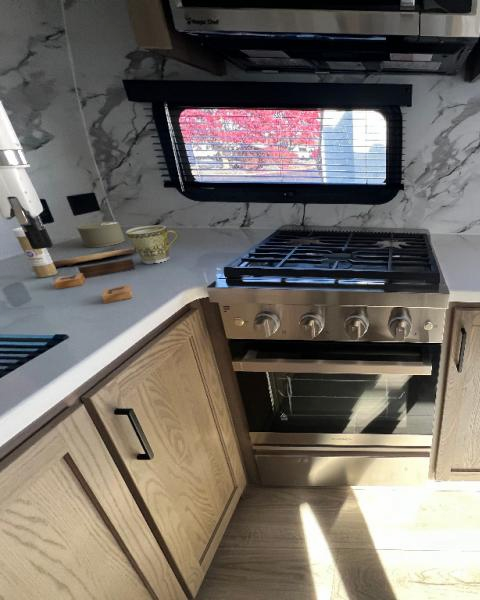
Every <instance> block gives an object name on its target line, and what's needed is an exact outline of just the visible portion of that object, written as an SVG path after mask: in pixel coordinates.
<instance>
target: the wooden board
mask: <svg viewBox="0 0 480 600" xmlns="http://www.w3.org/2000/svg"><path fill="white" fill-rule="evenodd" d="M136 252H137V250H136V249H135V247H134V248H126V249H119V250H112V251H111V250H110V251H105V252H99V253H93V254H88V255H82V256H77V257H72V258H65V259H60V260H59V259H58V260H52V261H53V264H54V266H55V268H60V267H64V266H68V267H71V266H74V265H75V264H79V263H83V262H88V261H95V260H103V259H104V258H111V257H115V256H122V255H128V254H136Z"/></svg>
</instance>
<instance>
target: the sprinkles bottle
mask: <svg viewBox="0 0 480 600" xmlns="http://www.w3.org/2000/svg"><path fill="white" fill-rule="evenodd" d="M11 231H12V233H13V235H14V237H15V238H16V239H17V241H18V243H19V245H20V246H21V248H22V251H23V252H24V254H25V257H26V259H27V261H28V263H29V265H30V267H31V268H32V270H33V272H34V274H35V277H36V278H48V277H53V276H55V275H57V274H58V273H59V271H58V270H57V269H56V268H57V267H55V266H54V264H53V261H54V260H53V259H52V257H51V255H50V253H49V251H48V248H43V249H32V247H31V245H30V243H29V241H28V239H27V237H26V235H25V233H24V231H23V229H22V227H21V226H20V227H16V228H13V229H12V230H11Z"/></svg>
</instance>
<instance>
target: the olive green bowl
mask: <svg viewBox="0 0 480 600" xmlns="http://www.w3.org/2000/svg"><path fill="white" fill-rule="evenodd" d="M75 228H76V230H77V232H78V233H79V235H80V237H81V240H82V242H83V244H84V247H85V248H91V249H94V248H96V247H97V248H104V247H105V246H106V247H111V246H110V245H112V246H115V245H114V244H116V245H119V244H118V243H120V244H122V243H124V242H125V241H126V239H125V236H124V233H123V231H122V227H121V224H120V222H119V221H117V220H105V221H94V222H89V223H84V224H80V225H78V226H76V227H75ZM123 241H124V242H123ZM121 242H122V243H121ZM97 248H96V249H97Z"/></svg>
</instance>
